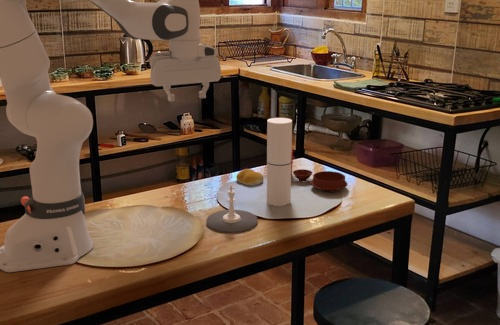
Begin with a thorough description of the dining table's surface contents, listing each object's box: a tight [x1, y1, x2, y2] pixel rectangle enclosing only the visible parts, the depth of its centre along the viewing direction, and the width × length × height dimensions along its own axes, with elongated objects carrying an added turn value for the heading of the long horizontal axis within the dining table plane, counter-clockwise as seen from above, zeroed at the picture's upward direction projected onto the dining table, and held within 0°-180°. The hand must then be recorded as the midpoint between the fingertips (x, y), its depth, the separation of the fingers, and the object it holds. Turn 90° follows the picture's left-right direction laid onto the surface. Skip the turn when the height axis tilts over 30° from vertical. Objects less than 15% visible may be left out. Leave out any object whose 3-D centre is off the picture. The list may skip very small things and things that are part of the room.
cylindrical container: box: [266, 117, 293, 207], centre depth 166 cm, size 7×7×25 cm
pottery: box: [292, 169, 348, 192], centre depth 183 cm, size 12×20×4 cm, turn 44°
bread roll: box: [236, 168, 264, 186], centre depth 187 cm, size 8×9×4 cm
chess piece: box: [223, 184, 241, 223], centre depth 154 cm, size 5×5×10 cm
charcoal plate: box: [206, 209, 258, 234], centre depth 155 cm, size 14×14×1 cm
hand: (187, 99), depth 161 cm, fingers open, 8 cm apart
